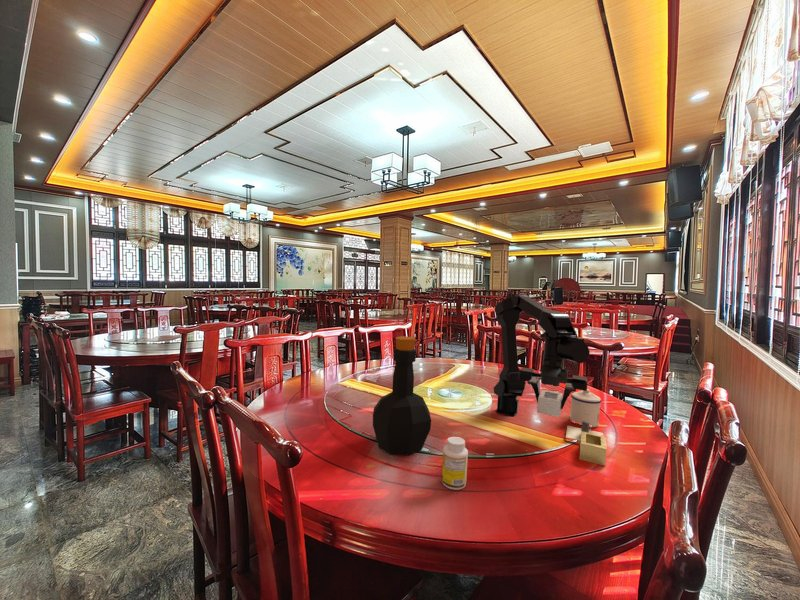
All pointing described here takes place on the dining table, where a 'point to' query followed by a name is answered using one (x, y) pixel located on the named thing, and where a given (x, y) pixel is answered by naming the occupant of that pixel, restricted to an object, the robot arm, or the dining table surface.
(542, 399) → the link
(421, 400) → the bottle
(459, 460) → the supplement bottle
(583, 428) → the keeper
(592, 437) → the link
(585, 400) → the teacup with lid
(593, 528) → the dining table surface
